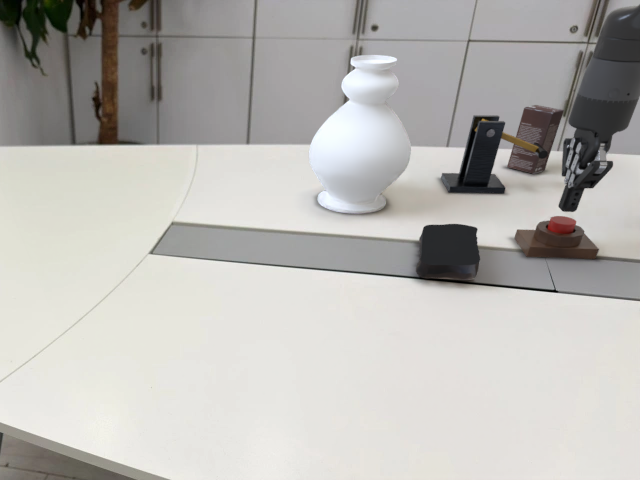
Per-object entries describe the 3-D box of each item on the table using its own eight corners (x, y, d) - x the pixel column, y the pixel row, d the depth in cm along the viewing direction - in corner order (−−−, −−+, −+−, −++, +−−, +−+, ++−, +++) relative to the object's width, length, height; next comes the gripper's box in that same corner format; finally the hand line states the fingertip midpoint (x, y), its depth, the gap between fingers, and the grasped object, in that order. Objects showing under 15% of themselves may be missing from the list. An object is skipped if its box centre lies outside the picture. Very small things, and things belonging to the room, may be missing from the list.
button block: (579, 240, 111) (586, 220, 109) (595, 259, 105) (603, 238, 103) (513, 238, 113) (520, 218, 111) (526, 256, 107) (533, 236, 105)
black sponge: (475, 289, 99) (482, 266, 97) (414, 281, 102) (419, 259, 99) (472, 245, 111) (478, 224, 109) (417, 239, 114) (422, 218, 112)
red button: (568, 226, 108) (571, 216, 107) (576, 235, 105) (580, 224, 104) (543, 225, 109) (547, 215, 108) (551, 234, 106) (554, 224, 105)
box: (545, 170, 139) (565, 109, 132) (532, 175, 137) (552, 113, 130) (518, 163, 143) (536, 103, 136) (505, 167, 141) (522, 107, 134)
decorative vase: (287, 192, 134) (301, 55, 119) (366, 180, 138) (389, 46, 123) (333, 225, 120) (355, 74, 105) (420, 211, 124) (453, 63, 109)
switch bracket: (493, 179, 135) (511, 113, 128) (504, 193, 129) (524, 124, 122) (440, 178, 137) (456, 113, 130) (448, 192, 131) (465, 124, 123)
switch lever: (534, 154, 130) (542, 142, 129) (542, 162, 126) (551, 150, 125) (472, 128, 129) (480, 116, 128) (479, 135, 125) (487, 123, 124)
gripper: (659, 103, 89) (609, 227, 99) (618, 81, 100) (577, 195, 110) (598, 103, 90) (554, 225, 101) (563, 81, 101) (527, 194, 111)
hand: (566, 209), depth 105 cm, fingers closed
